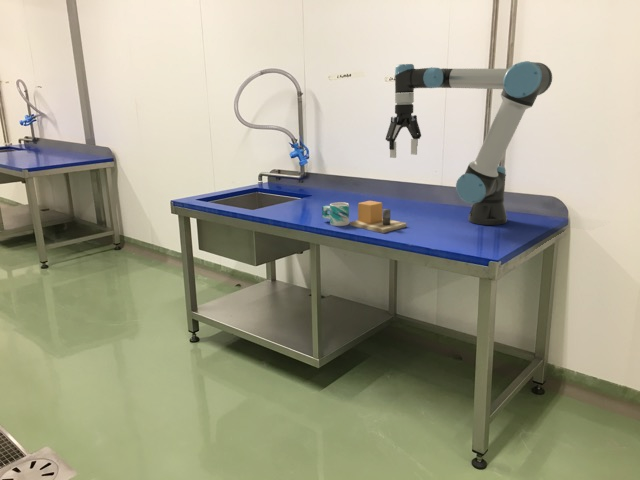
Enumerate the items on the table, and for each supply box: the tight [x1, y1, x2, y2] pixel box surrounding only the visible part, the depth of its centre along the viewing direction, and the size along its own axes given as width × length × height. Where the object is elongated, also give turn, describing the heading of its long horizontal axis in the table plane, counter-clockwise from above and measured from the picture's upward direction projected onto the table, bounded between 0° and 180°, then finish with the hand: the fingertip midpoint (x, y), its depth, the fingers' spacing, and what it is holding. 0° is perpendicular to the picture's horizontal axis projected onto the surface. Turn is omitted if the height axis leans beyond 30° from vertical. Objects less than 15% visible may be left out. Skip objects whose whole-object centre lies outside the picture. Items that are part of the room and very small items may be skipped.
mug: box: [321, 201, 350, 227], centre depth 224 cm, size 8×12×8 cm
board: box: [349, 208, 408, 234], centre depth 216 cm, size 18×14×8 cm
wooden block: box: [357, 200, 383, 224], centre depth 219 cm, size 7×7×8 cm
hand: (403, 156), depth 224 cm, fingers open, 13 cm apart
